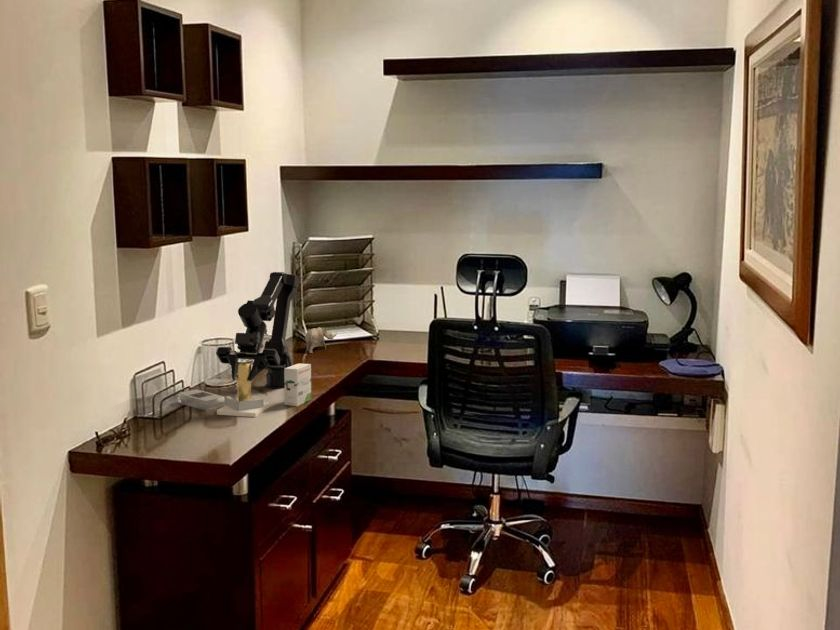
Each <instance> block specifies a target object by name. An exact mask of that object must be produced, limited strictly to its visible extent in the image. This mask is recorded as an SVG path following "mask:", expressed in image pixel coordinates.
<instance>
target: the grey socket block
mask: <svg viewBox="0 0 840 630" xmlns="http://www.w3.org/2000/svg"><path fill="white" fill-rule="evenodd" d="M179 393H180V400H181V405H185V406H189V407H190V408H191V407H192V408H193V409H194V408H195V409H199V410H202V411H206V412H207V411H211V410H215V409H220V408H222V407H223V406H225V396H222V395H219V394H215V393H212V392H208V391H204V390H201V389H191V390H187V391H183V392H182V391H181V392H179Z"/></svg>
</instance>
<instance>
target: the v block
mask: <svg viewBox="0 0 840 630" xmlns="http://www.w3.org/2000/svg"><path fill="white" fill-rule="evenodd" d="M224 399H225V406H223V407H219V408H217V410H216V415H217V416H218V415H219V416H236V417H250V418H256V417H257V416H259V415H260V414H261V413H263V412H264V411H265V410H267V409H268V408H269V407H270V402H268V401H267V402H265V400H264V398H262V397H261V398H254V399H253V398H252V399H251V400H246V401H237V399H235V398H233V397H231V396H229V395H227V396H224Z"/></svg>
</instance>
